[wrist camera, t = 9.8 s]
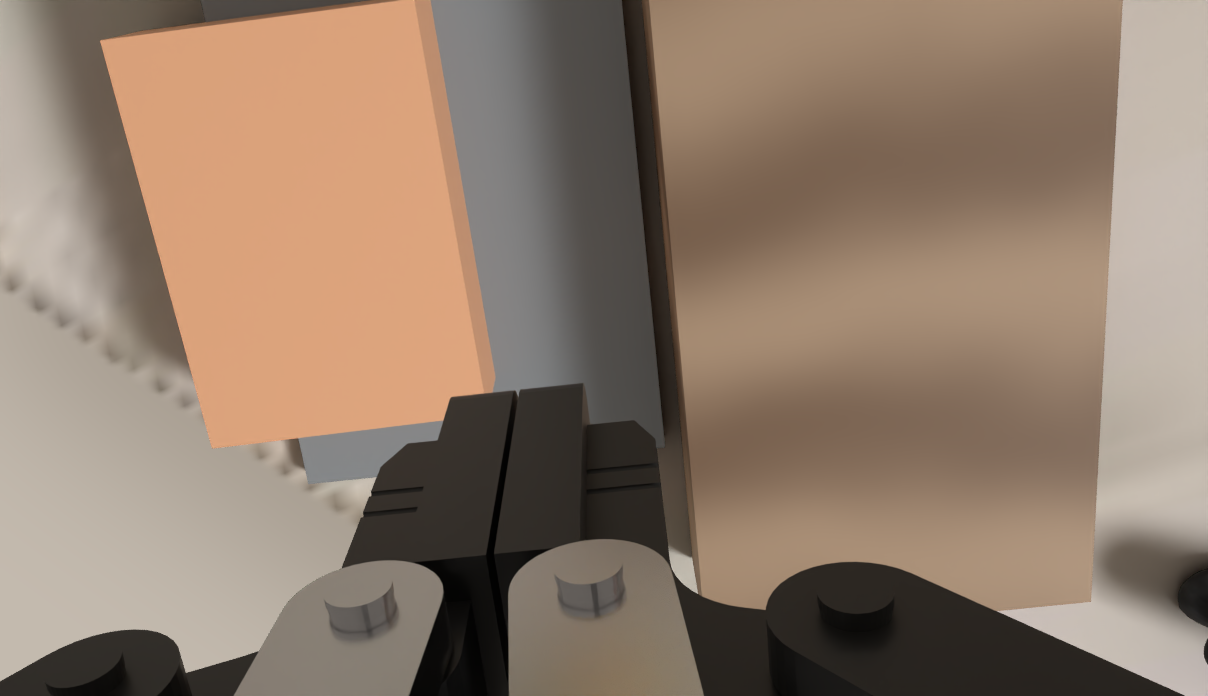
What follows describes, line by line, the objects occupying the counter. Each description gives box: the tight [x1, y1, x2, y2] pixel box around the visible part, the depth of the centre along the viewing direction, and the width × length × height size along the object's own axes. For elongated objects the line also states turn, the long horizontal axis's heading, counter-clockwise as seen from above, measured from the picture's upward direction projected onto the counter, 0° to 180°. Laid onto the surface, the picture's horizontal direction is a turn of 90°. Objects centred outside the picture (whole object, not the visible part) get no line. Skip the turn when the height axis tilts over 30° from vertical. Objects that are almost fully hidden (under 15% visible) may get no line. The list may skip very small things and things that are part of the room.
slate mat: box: [201, 0, 665, 484], centre depth 29 cm, size 16×10×1 cm, turn 6°
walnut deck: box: [642, 0, 1123, 611], centre depth 27 cm, size 24×10×4 cm, turn 6°
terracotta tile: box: [100, 0, 496, 448], centre depth 28 cm, size 10×7×2 cm
